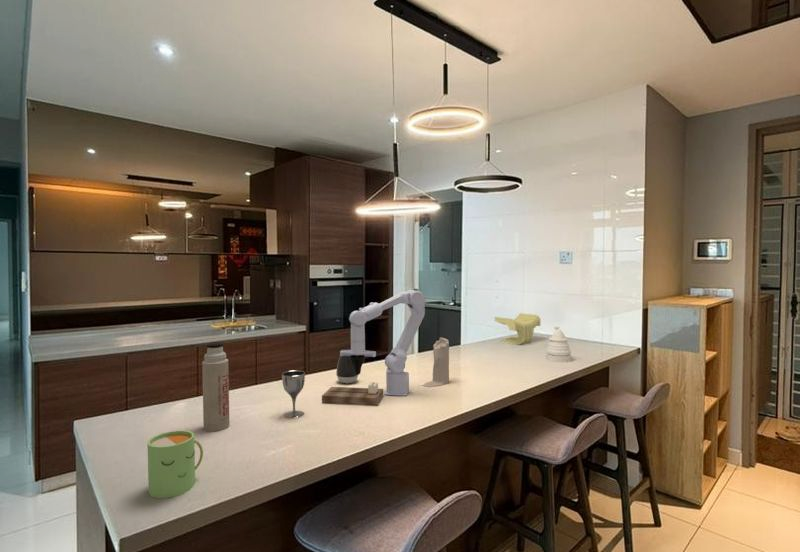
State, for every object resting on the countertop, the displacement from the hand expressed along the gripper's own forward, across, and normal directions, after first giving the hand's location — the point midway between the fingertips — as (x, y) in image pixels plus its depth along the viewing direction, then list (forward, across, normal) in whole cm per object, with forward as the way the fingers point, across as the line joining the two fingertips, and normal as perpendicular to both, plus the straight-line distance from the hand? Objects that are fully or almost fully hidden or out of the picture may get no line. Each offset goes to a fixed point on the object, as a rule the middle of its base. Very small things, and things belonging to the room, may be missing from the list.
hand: (358, 373), depth 175 cm
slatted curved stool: (+10, -78, -129) cm, 151 cm away
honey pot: (+10, -94, -79) cm, 123 cm away
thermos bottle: (+10, +39, +38) cm, 55 cm away
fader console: (+9, +1, +4) cm, 10 cm away
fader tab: (+6, -7, +4) cm, 10 cm away
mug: (+10, +27, +74) cm, 79 cm away
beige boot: (+10, -30, -23) cm, 39 cm away
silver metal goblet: (+10, +18, +23) cm, 31 cm away
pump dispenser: (+10, +10, -20) cm, 24 cm away
